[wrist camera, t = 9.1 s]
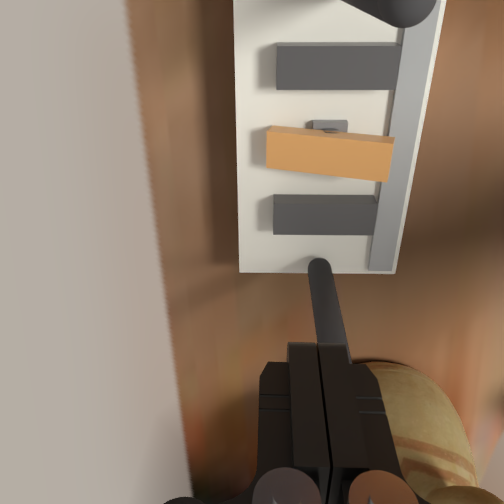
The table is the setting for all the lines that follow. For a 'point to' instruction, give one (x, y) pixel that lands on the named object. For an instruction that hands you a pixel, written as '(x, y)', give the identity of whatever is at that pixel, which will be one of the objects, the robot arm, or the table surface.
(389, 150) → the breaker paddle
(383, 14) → the dark grey peg
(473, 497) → the ceramic vessel
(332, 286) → the dark grey rod
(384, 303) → the table surface
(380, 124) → the breaker board
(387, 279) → the table surface
